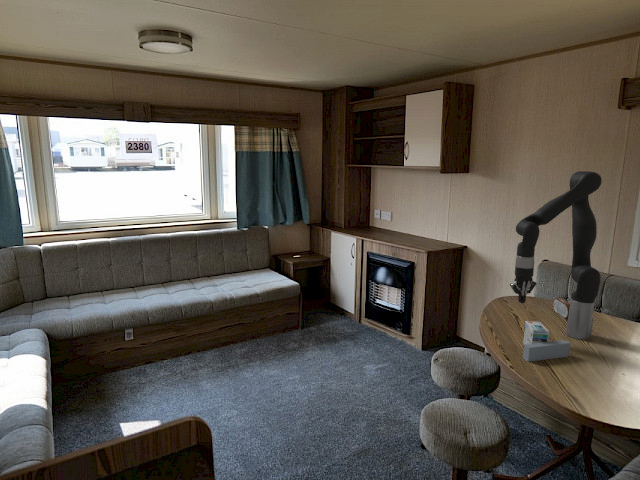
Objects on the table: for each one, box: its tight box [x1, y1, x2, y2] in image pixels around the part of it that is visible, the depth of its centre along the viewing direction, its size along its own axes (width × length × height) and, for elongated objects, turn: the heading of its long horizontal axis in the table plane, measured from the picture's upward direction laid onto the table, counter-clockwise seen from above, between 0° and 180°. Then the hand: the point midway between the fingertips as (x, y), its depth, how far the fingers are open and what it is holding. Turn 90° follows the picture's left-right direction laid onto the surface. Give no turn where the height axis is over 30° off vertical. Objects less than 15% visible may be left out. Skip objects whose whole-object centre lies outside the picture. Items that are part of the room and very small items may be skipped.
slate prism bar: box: [522, 339, 571, 363], centre depth 176 cm, size 20×3×6 cm, turn 105°
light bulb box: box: [522, 320, 550, 346], centre depth 183 cm, size 11×7×11 cm, turn 172°
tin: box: [552, 297, 570, 320], centre depth 223 cm, size 15×3×8 cm, turn 179°
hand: (521, 302), depth 195 cm, fingers closed
